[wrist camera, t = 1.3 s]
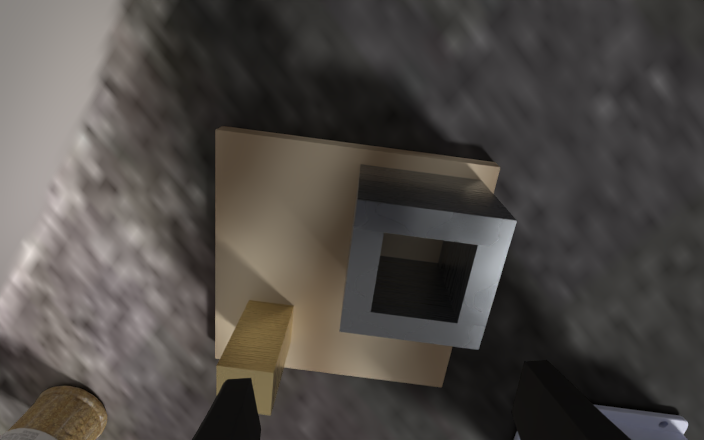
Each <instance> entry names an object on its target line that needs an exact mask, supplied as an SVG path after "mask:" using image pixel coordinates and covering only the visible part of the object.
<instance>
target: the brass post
mask: <svg viewBox="0 0 704 440" xmlns="http://www.w3.org/2000/svg"><path fill="white" fill-rule="evenodd" d="M293 311H294V306H292V305H285V304H277V303H269V302H261V301H254V300H249V301H248V303H247V305H246V307H245V309H244V311H243V313H242V315H241V317H240V319H239V321H238V323H237V325H236V327H235V329H234V331H233V333H232V336H231V338H230V340H229V342H228V344H227V346H226V348H225V350H224V352H223V354H222V356H221V358H220V360H219V362H218V364H217V395H218V393H219V391H220V389H221V387H222V385H223V383H224V382H225V381H226V380H227V379H239V378H251V380H252V385H253V390H254V395H255V400H256V405H257V411H258V414H264V415H271V412H272V409H273V405H274V401H275V398H276V394H277V391H278V387H279V383H280V380H281V376H282V372H283V369H284V365H285V362H286V358H287V354H288V351H289V347H290V344H291V335H292V323H293Z"/></svg>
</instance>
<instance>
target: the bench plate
mask: <svg viewBox="0 0 704 440" xmlns="http://www.w3.org/2000/svg"><path fill="white" fill-rule="evenodd" d="M361 164H364V165H371V166H379V167H386V168H394V169H401V170H409V171H417V172H424V173H432V174H439V175H447V176H454V177H462V178H469V179H477V180H482V181H483V182H484V184H485V185H486V186H487V187H488V188H489V189H490V191H491V192H492V193H494V189H495V186H496V182H497V178H498V174H499V171H500V167H499V166H498V165H497V164H496V163H495V162H490V161H483V160H475V159H468V158H460V157H453V156H445V155H438V154H430V153H423V152H415V151H408V150H400V149H393V148H385V147H377V146H370V145H362V144H355V143H347V142H340V141H332V140H325V139H317V138H310V137H302V136H295V135H287V134H280V133H272V132H265V131H257V130H250V129H242V128H234V127H227V126H222V127H220V128H218V129H216V130H215V358H216V359H220V358H221V356H222V354H223V352H224V350H225V348H226V346H227V344H228V342H229V340H230V338H231V336H232V333H233V331H234V329H235V327H236V325H237V323H238V321H239V319H240V317H241V315H242V313H243V311H244V309H245V307H246V305H247V303H248V301H249V300H254V301H261V302H269V303H277V304H285V305H292V306H294V311H293V323H292V335H291V344H290V347H289V351H288V354H287V358H286V362H285V365H284V367H286V368H294V369H302V370H309V371H317V372H325V373H333V374H341V375H348V376H356V377H364V378H372V379H379V380H387V381H395V382H403V383H411V384H418V385H426V386H434V387H442V385H443V381H444V377H445V373H446V370H447V366H448V362H449V358H450V355H451V351H452V347H453V346H445V345H438V344H430V343H422V342H414V341H407V340H399V339H391V338H384V337H376V336H368V335H360V334H353V333H345V332H339V330H340V321H341V312H342V303H343V294H344V286H345V277H346V268H347V261H348V254H349V246H350V239H351V231H352V224H353V217H354V209H355V202H356V195H357V187H358V180H359V172H360V165H361ZM442 244H443V240H436V239H428V238H421V237H413V236H406V235H398V234H390V233H384V235H383V241H382V247H381V253H380V256H387V257H395V258H403V259H410V260H418V261H425V262H433V263H438V261H439V257H440V252H441V248H442Z"/></svg>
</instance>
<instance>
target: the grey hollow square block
mask: <svg viewBox="0 0 704 440" xmlns="http://www.w3.org/2000/svg"><path fill="white" fill-rule="evenodd" d="M516 222H517V220H516V219H515V218H514V217H513V216H512V215H511V213H510V212H509V211H508V210H507V209H506V208H505V207H504V205H503V204H502V203H501V202H500V201H499V200H498V199H497V197H496V196H495V195H494V194H493V193H492V192H491V191H490V189H489V188H488V187H487V186H486V185H485V184H484V182H483V181H482V180H477V179H469V178H462V177H454V176H447V175H439V174H432V173H424V172H417V171H409V170H401V169H394V168H386V167H379V166H371V165H364V164H361V165H360V172H359V180H358V187H357V195H356V202H355V209H354V217H353V224H352V231H351V239H350V246H349V254H348V261H347V268H346V277H345V286H344V294H343V303H342V312H341V321H340V330H339V332H345V333H353V334H360V335H368V336H376V337H384V338H391V339H399V340H407V341H414V342H422V343H430V344H438V345H445V346H453V347H461V348H469V349H476V350H479V347H480V343H481V340H482V337H483V333H484V330H485V327H486V323H487V320H488V316H489V313H490V310H491V306H492V303H493V300H494V296H495V293H496V289H497V286H498V283H499V279H500V276H501V273H502V269H503V266H504V262H505V259H506V256H507V252H508V249H509V246H510V242H511V239H512V236H513V232H514V229H515V225H516ZM384 233H390V234H398V235H406V236H413V237H421V238H428V239H436V240H443V244H442V248H441V252H440V257H439V261H438V263H433V262H425V261H418V260H410V259H403V258H395V257H387V256H380V253H381V247H382V241H383V235H384Z"/></svg>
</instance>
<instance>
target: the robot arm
mask: <svg viewBox="0 0 704 440" xmlns="http://www.w3.org/2000/svg"><path fill="white" fill-rule="evenodd" d="M512 415H513V418H514V422H515V425H516V428H517V432H516V435H515V437H514V440H687V439H686V437H685V436H684V435H683V434H684V433H685V431H686V429H687V427H688V422H687V421H686V420H685V418H683V417H682V416H679V415H671V414H663V413H655V412H648V411H640V410H632V409H624V408H617V407H609V406H601V405H593V404H592V403H591V402H590V401H589V400H588V399H587V398H586V397H585V396H584V395H583V394H582V393H581V392H580V391H578V390H577V389H576V388H575V387H574V386H573V385H572V384H571V383H570V382H569V381H568V380H567V379H566V378H565V377H564V376H563V375H562V374H561V373H560V372H559V371H558V370H557V369H556V368H555V367H554V366H552V365H551V364H550V363H549V362H548V361H547V360H542V361H525V362H524V365H523V369H522V373H521V377H520V381H519V385H518V389H517V393H516V397H515V401H514V405H513V409H512ZM260 434H261V426H260V421H259V416H258V411H257V405H256V400H255V395H254V390H253V385H252V380H251V378H239V379H227V380H226V381H225V382H224V383H223V385H222V387H221V389H220V391H219V393H218V395H217V397H216V398H215V400H214V402H213V404H212V406H211V408H210V410H209V411H208V413H207V415H206V417H205V418H204V420H203V422H202V424H201V425H200V427H199V429H198V431H197V432H196V434H195V436H194V437H193V439H192V440H260Z"/></svg>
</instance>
